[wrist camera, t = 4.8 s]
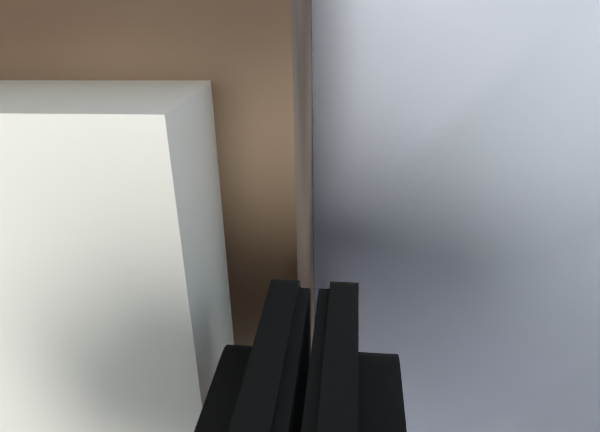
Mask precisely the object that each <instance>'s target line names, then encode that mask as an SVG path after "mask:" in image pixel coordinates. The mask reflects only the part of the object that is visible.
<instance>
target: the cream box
mask: <svg viewBox="0 0 600 432" xmlns="http://www.w3.org/2000/svg"><path fill="white" fill-rule="evenodd" d="M226 345H234V337H233V326H232V315H231V303H230V292H229V281H228V270H227V258H226V247H225V236H224V225H223V213H222V202H221V191H220V179H219V168H218V157H217V146H216V134H215V123H214V112H213V101H212V89H211V80H0V432H194V430H195V427H196V424H197V422H198V419H199V416H200V413H201V410H202V408H203V405H204V402H205V399H206V396H207V393H208V391H209V388H210V385H211V382H212V379H213V377H214V374H215V371H216V368H217V365H218V362H219V360H220V357H221V354H222V351H223V349H224V347H225V346H226Z"/></svg>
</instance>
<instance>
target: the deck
mask: <svg viewBox="0 0 600 432" xmlns="http://www.w3.org/2000/svg"><path fill="white" fill-rule="evenodd" d="M0 80H211V89H212V101H213V112H214V123H215V134H216V146H217V157H218V168H219V179H220V191H221V202H222V213H223V225H224V236H225V247H226V258H227V270H228V281H229V292H230V303H231V315H232V326H233V337H234V345H245V346H253V342H254V339H255V335H256V332H257V328H258V324H259V321H260V317H261V314H262V310H263V307H264V303H265V300H266V296H267V292H268V289H269V285H270V282H271V279H285V280H300V285H301V288H310V289H311V348H312V340H313V332H314V253H313V143H312V33H311V0H0Z"/></svg>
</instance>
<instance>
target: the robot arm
mask: <svg viewBox="0 0 600 432" xmlns="http://www.w3.org/2000/svg"><path fill="white" fill-rule="evenodd" d="M358 292H359V286H358V283H351V282H330V289H319V292H318V300H317V308H316V316H315V324H314V332H313V340H312V348H311V289H310V288H301V285H300V280H285V279H271V282H270V285H269V289H268V292H267V296H266V300H265V303H264V307H263V310H262V314H261V317H260V321H259V324H258V328H257V332H256V335H255V339H254V342H253V346H245V345H226V346H225V347H224V349H223V351H222V354H221V357H220V360H219V362H218V365H217V368H216V371H215V374H214V377H213V379H212V382H211V385H210V388H209V391H208V393H207V396H206V399H205V402H204V405H203V408H202V410H201V413H200V416H199V419H198V422H197V424H196V427H195V430H194V432H407V430H406V420H405V411H404V401H403V391H402V381H401V372H400V362H399V356H398V354H382V353H365V352H358Z"/></svg>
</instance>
